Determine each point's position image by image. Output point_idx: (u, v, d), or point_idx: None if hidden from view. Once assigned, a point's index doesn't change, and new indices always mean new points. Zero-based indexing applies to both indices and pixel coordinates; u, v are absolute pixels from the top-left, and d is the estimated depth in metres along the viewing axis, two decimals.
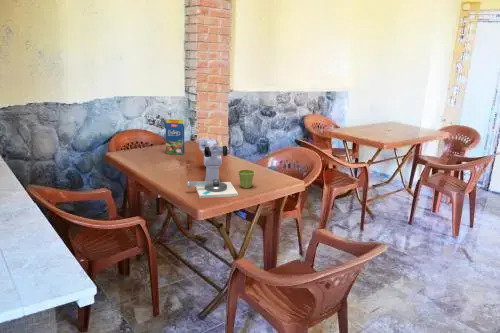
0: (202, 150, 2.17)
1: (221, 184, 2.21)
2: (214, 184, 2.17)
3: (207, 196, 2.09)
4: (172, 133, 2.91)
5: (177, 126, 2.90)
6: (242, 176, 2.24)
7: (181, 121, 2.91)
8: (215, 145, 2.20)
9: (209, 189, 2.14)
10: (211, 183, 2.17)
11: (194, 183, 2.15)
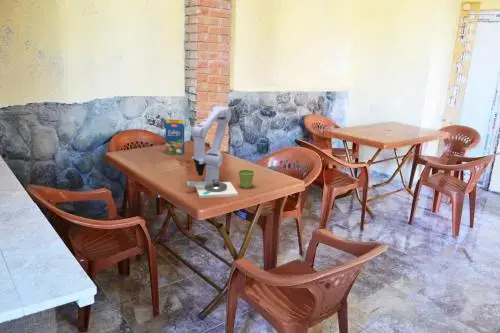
0: None
1: (221, 184, 2.21)
2: (214, 184, 2.17)
3: (207, 196, 2.09)
4: (172, 133, 2.91)
5: (177, 126, 2.90)
6: (242, 176, 2.24)
7: (181, 121, 2.91)
8: None
9: (209, 189, 2.14)
10: (211, 183, 2.17)
11: (194, 183, 2.15)
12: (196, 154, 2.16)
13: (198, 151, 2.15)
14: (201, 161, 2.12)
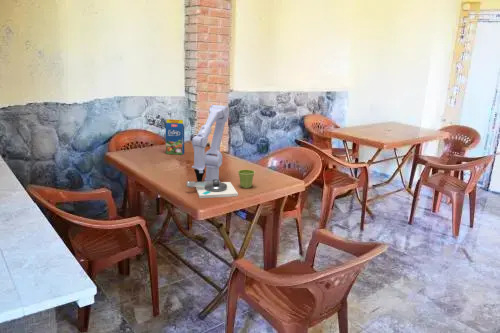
0: None
1: (221, 184, 2.21)
2: (214, 184, 2.17)
3: (207, 196, 2.09)
4: (172, 133, 2.90)
5: (177, 126, 2.90)
6: (242, 176, 2.24)
7: (181, 121, 2.91)
8: None
9: (209, 189, 2.14)
10: (211, 183, 2.17)
11: (194, 183, 2.15)
12: (196, 163, 2.17)
13: (198, 160, 2.17)
14: (201, 170, 2.14)
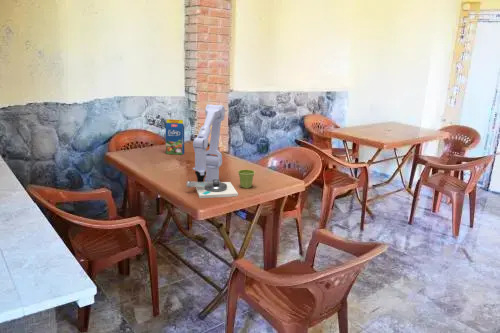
0: None
1: (221, 184, 2.21)
2: (214, 184, 2.17)
3: (207, 196, 2.09)
4: (172, 133, 2.90)
5: (177, 126, 2.90)
6: (242, 176, 2.24)
7: (181, 121, 2.91)
8: None
9: (209, 189, 2.14)
10: (211, 183, 2.17)
11: (194, 183, 2.15)
12: (197, 165, 2.14)
13: (199, 162, 2.13)
14: (202, 172, 2.10)
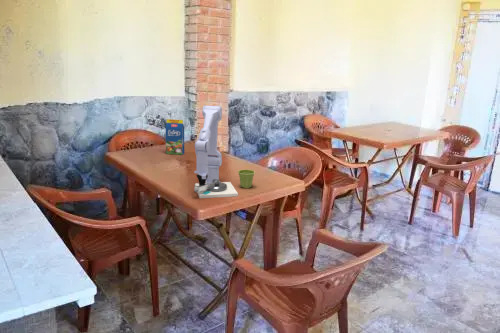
0: None
1: None
2: (216, 184, 2.17)
3: (207, 196, 2.09)
4: (172, 133, 2.90)
5: (177, 126, 2.90)
6: (242, 176, 2.24)
7: (181, 121, 2.91)
8: None
9: (216, 190, 2.14)
10: (213, 184, 2.16)
11: (201, 187, 2.09)
12: (198, 168, 2.09)
13: (201, 165, 2.08)
14: (204, 176, 2.05)
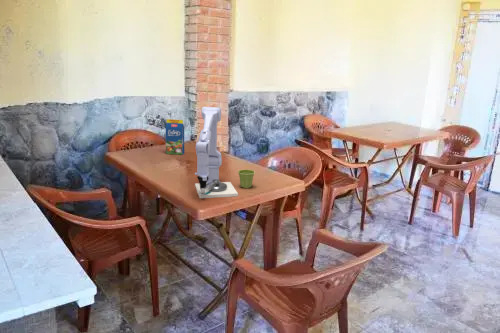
0: None
1: None
2: (217, 184, 2.18)
3: (207, 196, 2.09)
4: (172, 133, 2.90)
5: (177, 126, 2.90)
6: (242, 176, 2.24)
7: (181, 121, 2.91)
8: None
9: (219, 189, 2.14)
10: (215, 184, 2.16)
11: (207, 188, 2.08)
12: (199, 170, 2.05)
13: (201, 167, 2.05)
14: (205, 178, 2.02)
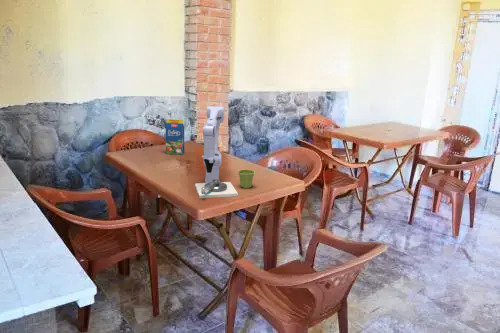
0: None
1: None
2: (217, 184, 2.18)
3: (207, 196, 2.09)
4: (172, 133, 2.90)
5: (177, 126, 2.90)
6: (242, 176, 2.24)
7: (181, 121, 2.91)
8: None
9: (219, 189, 2.14)
10: (215, 184, 2.16)
11: (207, 188, 2.08)
12: (206, 153, 2.15)
13: (208, 150, 2.14)
14: (211, 160, 2.12)
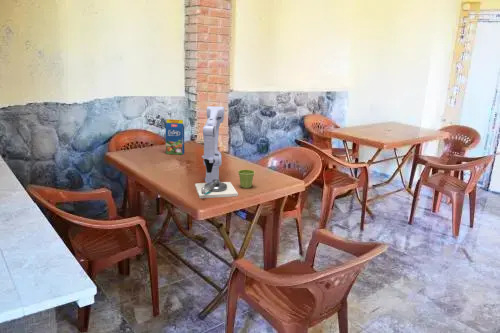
0: None
1: None
2: (217, 184, 2.18)
3: (207, 196, 2.09)
4: (172, 133, 2.90)
5: (177, 126, 2.90)
6: (242, 176, 2.24)
7: (181, 121, 2.91)
8: None
9: (219, 189, 2.14)
10: (215, 184, 2.16)
11: (207, 188, 2.08)
12: (206, 153, 2.15)
13: (208, 150, 2.14)
14: (211, 160, 2.12)
